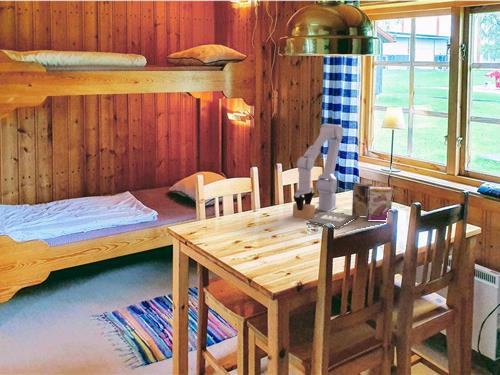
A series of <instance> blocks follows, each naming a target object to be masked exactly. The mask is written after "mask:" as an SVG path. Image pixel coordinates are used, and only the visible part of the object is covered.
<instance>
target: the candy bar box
mask: <svg viewBox="0 0 500 375" xmlns="http://www.w3.org/2000/svg"><path fill="white" fill-rule="evenodd" d="M393 191H394V189H393V188H392V187H386V186H385V187H384V186H383V187H382V186H373V187H369V188H368V203H367V216H366V218H367V219H366V218H365V219H366V221H367V220H386V218H387V212H388V210H389V209H391V210H392V206H393V205H392V204H393V194H394V193H393Z"/></svg>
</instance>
